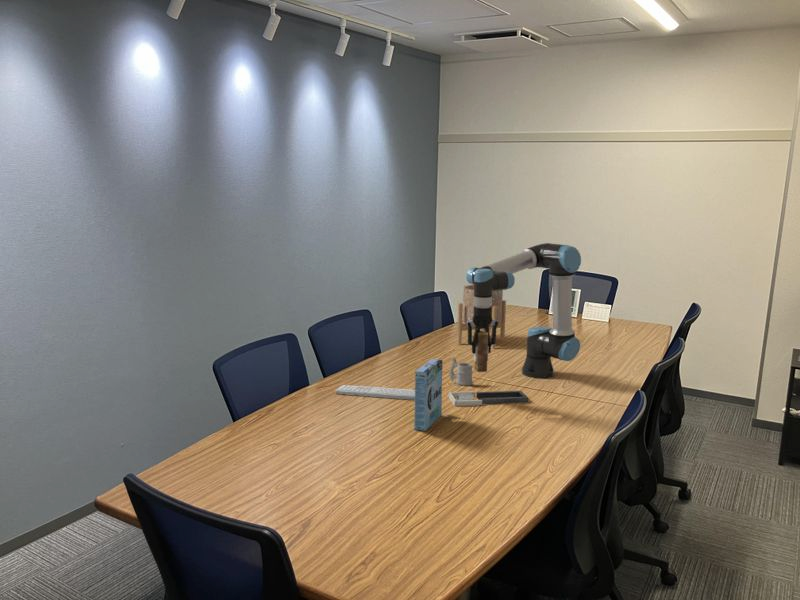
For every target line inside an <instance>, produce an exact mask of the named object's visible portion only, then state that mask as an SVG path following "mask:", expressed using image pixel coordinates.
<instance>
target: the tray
mask: <svg viewBox="0 0 800 600" xmlns="http://www.w3.org/2000/svg"><path fill="white" fill-rule="evenodd" d="M463 392H464V391H448V394H447V395H448V398H449V400H450V401H451V403H452V404H453V406H454V407H463V406H464V407H469V406H483V404H482V400H479V399H473V400H462V401H457V393H463ZM466 392H471V393H472V395H473V397H476V392H475V391H474V390H471V391H466Z"/></svg>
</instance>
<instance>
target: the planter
mask: <svg viewBox="0 0 800 600" xmlns="http://www.w3.org/2000/svg"><path fill="white" fill-rule="evenodd" d="M503 291H504V290H497V291H492V306H490V307H491V308H492V316H491V317H492V320H496V321H497V322H498V325H497V328H496V329H499V328H500V333H499V336H500V337H499V341H500V342H504V341H505V333H506V312H507V311H506V310H507V300H505V299H503V295H504V294H503ZM462 294H463V297H462V302H457V303H458V304H457V306H458V307H457V330H456V331H457V334H456V335H457V336H456V344H457V345H459V346H460V345H462V333H463V331H468V326H467V324H466V322H467V321H471V320H472V318H473V311H474V285H473V284H468V285H464V286H463V293H462ZM488 327H489V334H491V335H492V322H491V324H490V325H489V326H488ZM480 330H484V328H481V329H480ZM472 331H475V324H474V323H472ZM491 335H490V336H491ZM492 349H493V350H495V349H496V342H495V344H493V345H492V346H491V350H492Z"/></svg>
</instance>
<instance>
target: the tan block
mask: <svg viewBox="0 0 800 600" xmlns="http://www.w3.org/2000/svg"><path fill="white" fill-rule="evenodd" d="M476 346H477V347H478V351H477V362H475V361H474V370H475V371H476V372H477V373H485V372H486V373H487V372H488V361H487V353H488V332H486V331H485V330H482V329H480V331H479V332H478V339H477V343H476ZM488 354H489V353H488Z"/></svg>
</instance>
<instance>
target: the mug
mask: <svg viewBox="0 0 800 600" xmlns="http://www.w3.org/2000/svg"><path fill="white" fill-rule="evenodd" d="M455 367H457V369H456V373H457V374H455V373H454V369H455ZM448 371H449V378H450V381H454V380H455V379H456V380H455V383H456V386H457V387H469V386H473V383H474V382H473V364H471V363H470V362H459V363H457V360H456V358H455V357H453V358H452V362H451V365H450V368H449V370H448Z"/></svg>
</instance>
